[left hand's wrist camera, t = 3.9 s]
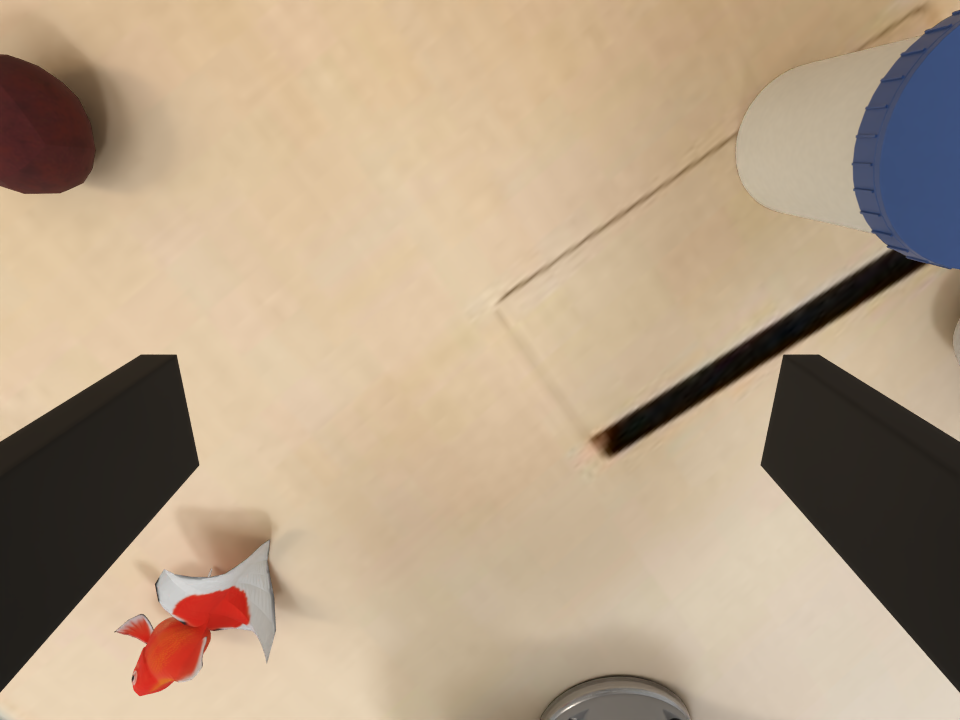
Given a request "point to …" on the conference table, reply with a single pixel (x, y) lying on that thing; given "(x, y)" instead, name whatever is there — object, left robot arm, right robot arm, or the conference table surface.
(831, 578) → the conference table surface
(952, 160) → the lid
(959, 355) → the projector
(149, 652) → the fish
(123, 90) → the conference table surface
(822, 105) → the jar
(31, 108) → the dark red ball
